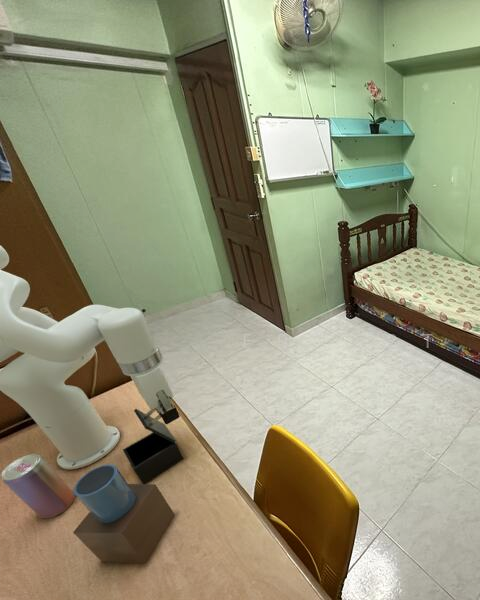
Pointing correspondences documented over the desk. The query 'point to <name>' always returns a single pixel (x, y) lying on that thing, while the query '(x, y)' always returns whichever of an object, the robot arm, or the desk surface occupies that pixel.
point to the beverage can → (38, 485)
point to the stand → (129, 528)
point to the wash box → (152, 456)
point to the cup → (105, 493)
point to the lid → (154, 424)
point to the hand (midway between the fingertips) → (168, 414)
